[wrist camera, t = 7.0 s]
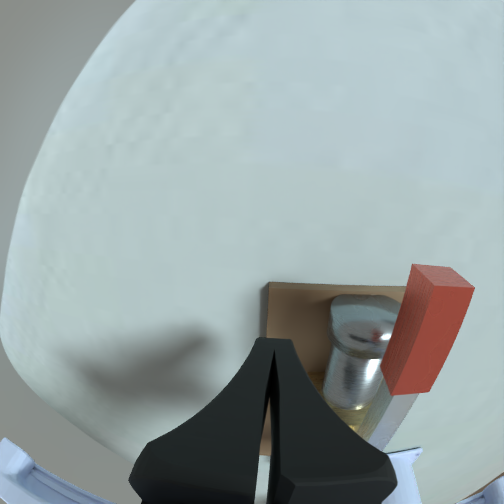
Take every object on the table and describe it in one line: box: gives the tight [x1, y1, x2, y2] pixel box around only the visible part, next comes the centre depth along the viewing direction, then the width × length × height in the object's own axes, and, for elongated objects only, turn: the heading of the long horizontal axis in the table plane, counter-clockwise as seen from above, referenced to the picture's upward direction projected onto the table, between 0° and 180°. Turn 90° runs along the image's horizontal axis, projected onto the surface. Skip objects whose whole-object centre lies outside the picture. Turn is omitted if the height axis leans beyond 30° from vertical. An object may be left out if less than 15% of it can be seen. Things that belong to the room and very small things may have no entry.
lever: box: [356, 264, 475, 451], centre depth 10 cm, size 3×14×2 cm, turn 176°
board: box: [259, 282, 406, 456], centre depth 19 cm, size 18×11×1 cm, turn 179°
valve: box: [307, 294, 401, 432], centre depth 16 cm, size 18×5×6 cm, turn 179°
